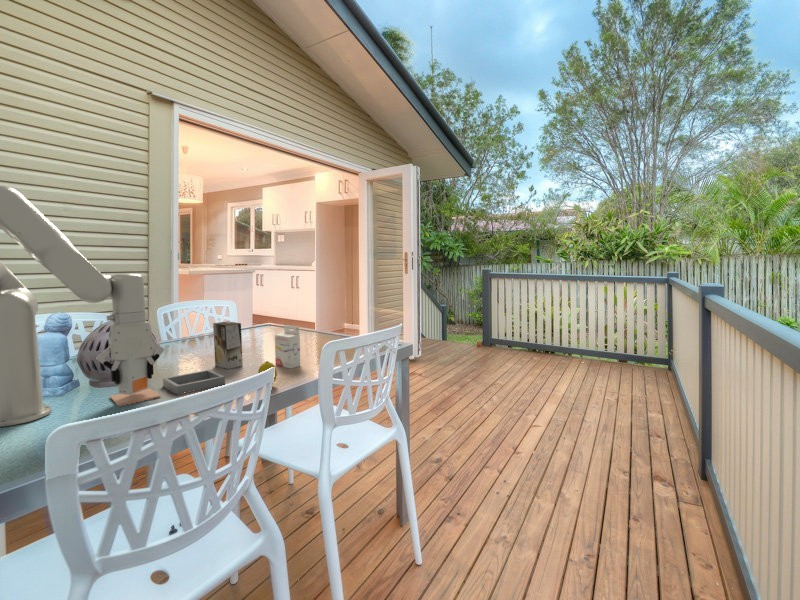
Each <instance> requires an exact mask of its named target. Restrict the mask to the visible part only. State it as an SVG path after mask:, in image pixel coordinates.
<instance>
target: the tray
mask: <svg viewBox="0 0 800 600" xmlns="http://www.w3.org/2000/svg"><path fill="white" fill-rule="evenodd" d="M223 384H224V385H226V376H225V375H223V374H220V373H218V372H215V371H213V370H211V369H206V370H200V371H195V372H189V373H184V374H180V375H179V374H178V375H174V376H169V377H164V378H162V387H164V388H165V389H167V390H168V389H169V390H168V391H170V392H172V393H173V392H174V393H173V394H175V395H176V394H177V396H179V395H182V394H181V393H183V394H185V393H184V392H188V393H190V392H189V391H193V390H195V391H193V392H196V391H200V390H199V389H202V390H205V388H206V389H211V388H215V387H221V386H224V385H223ZM178 394H179V395H178Z"/></svg>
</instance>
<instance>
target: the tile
mask: <svg viewBox="0 0 800 600" xmlns="http://www.w3.org/2000/svg"><path fill="white" fill-rule="evenodd" d="M157 397H160V398H161V395H160V394H159V393H158V392H156V391H154V390H153V389H152V388H150V387H148V389H146V390H143V391H140V392H137V393H134V394H132V395H126V394H119V393H118V394H114V395H113V394H112V395H109V399H110V400H111V399H112V400H113V401H114V402H115V405H116V406H117V407H122V406H121V405H124V406H127V405H126V404H128V405H132V404H131V403H133V404H137V403H136V402H138V403H141V402H140V401H142V402H145V401H144V400H147V401H150V400H149V399H151V400H154V399H153V398H156V399H158V398H157ZM112 400H111V401H112ZM113 401H112V402H113ZM114 402H113V403H114Z"/></svg>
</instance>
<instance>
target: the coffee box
mask: <svg viewBox="0 0 800 600" xmlns="http://www.w3.org/2000/svg"><path fill="white" fill-rule="evenodd" d="M212 327H213V328H212V329H213V347H214V366H215V367H219V368H223V369H226V370H230V369H234V368H238V367H239V366H240V367H243V366H244V363H243V362H244V361H243V342H242V339H243V338H242V323H240V322H235V321H228V320H227V321H220V322H213V323H212Z"/></svg>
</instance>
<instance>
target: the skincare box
mask: <svg viewBox="0 0 800 600" xmlns="http://www.w3.org/2000/svg"><path fill="white" fill-rule="evenodd" d="M117 368H118V370H119V376H120V384H118V385H117V387H118V388H117V389H118V394H126V395H132V394H134V393H137V392H140V391H143V390H146V389H148V388H149V383H148V382H149V378H148V376H147V359H146V358H139V359H133V356H132V352H128V360H125V361H121V362H120V364H119V365H118V367H117Z"/></svg>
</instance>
